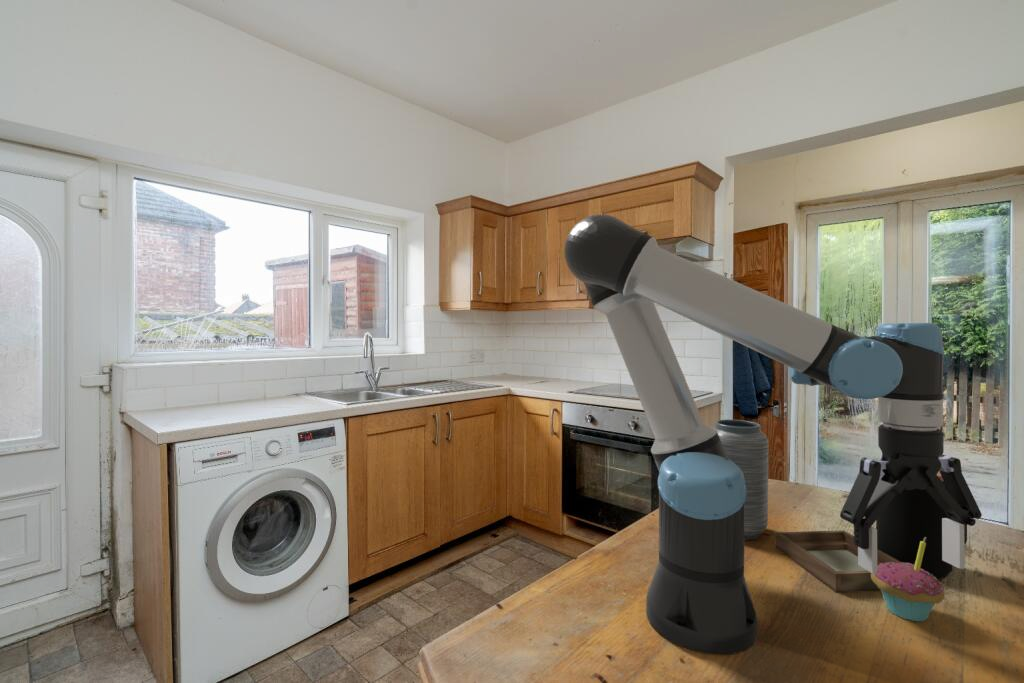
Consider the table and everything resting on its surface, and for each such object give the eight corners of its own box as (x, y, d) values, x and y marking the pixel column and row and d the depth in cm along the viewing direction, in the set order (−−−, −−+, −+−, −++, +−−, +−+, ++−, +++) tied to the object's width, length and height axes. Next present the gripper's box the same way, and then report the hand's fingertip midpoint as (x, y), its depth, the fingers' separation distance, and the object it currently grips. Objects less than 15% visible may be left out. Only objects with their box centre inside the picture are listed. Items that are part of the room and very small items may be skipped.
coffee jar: (968, 584, 80) (970, 477, 80) (895, 578, 82) (897, 474, 82) (927, 555, 91) (929, 460, 90) (863, 550, 93) (865, 457, 92)
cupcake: (937, 607, 74) (939, 530, 73) (950, 637, 67) (952, 552, 66) (868, 591, 78) (869, 518, 78) (873, 617, 71) (874, 537, 71)
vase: (737, 517, 109) (738, 416, 109) (780, 538, 98) (782, 426, 97) (695, 524, 105) (696, 420, 105) (735, 546, 94) (736, 430, 94)
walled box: (835, 592, 78) (835, 573, 78) (775, 547, 94) (775, 532, 94) (916, 589, 79) (917, 571, 79) (843, 545, 95) (843, 530, 95)
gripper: (849, 434, 67) (850, 584, 68) (1015, 428, 69) (1015, 574, 69) (812, 423, 75) (813, 559, 75) (963, 418, 76) (963, 551, 77)
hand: (910, 566), depth 72 cm, fingers open, 13 cm apart
